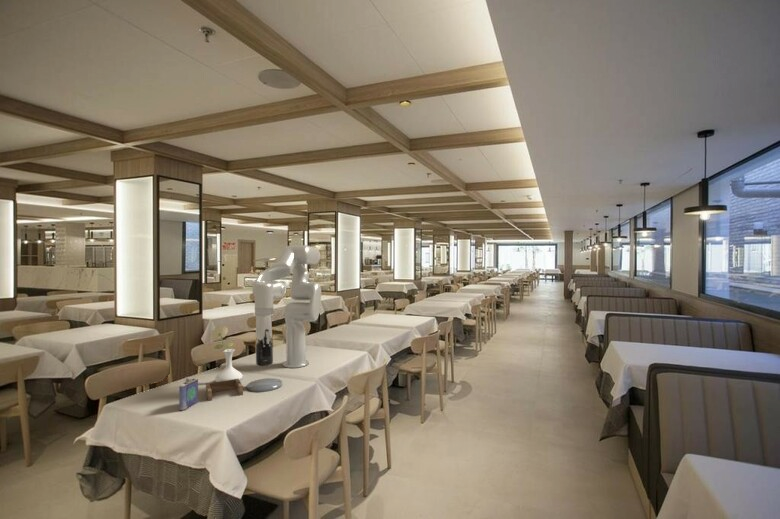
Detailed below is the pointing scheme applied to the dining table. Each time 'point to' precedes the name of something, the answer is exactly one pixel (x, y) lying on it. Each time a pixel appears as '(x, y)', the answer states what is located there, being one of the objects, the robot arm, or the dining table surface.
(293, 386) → the dining table surface
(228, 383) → the brown wooden arch piece
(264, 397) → the dining table surface
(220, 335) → the flower in vase
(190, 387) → the flask
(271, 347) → the supplement bottle
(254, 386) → the plate
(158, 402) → the dining table surface
